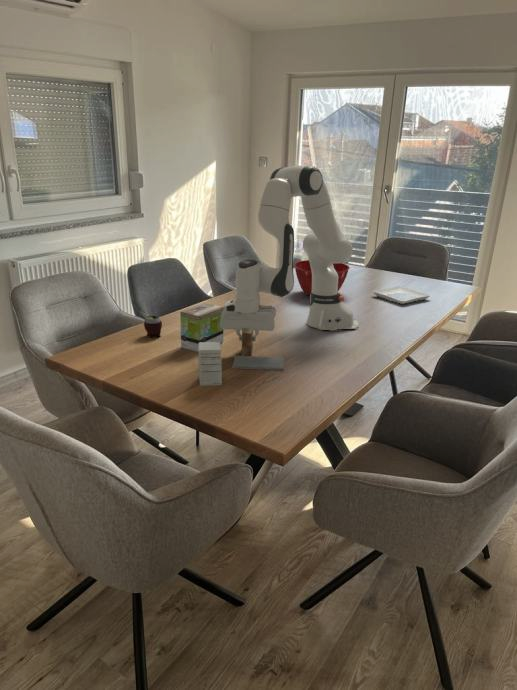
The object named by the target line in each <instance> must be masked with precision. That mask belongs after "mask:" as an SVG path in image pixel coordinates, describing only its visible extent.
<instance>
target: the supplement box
mask: <svg viewBox="0 0 517 690" xmlns="http://www.w3.org/2000/svg"><path fill="white" fill-rule="evenodd" d="M221 343H222V342H221ZM221 343H220V342H199V347H198V352H197V353H198V371H199V372H198V373H199V375H198V376H199V386H201V387H202V386H203V387H204V386H205V387H207V386H222V385H223V382H222V381H223V380H222V379H223V376H222V374H223V373H222V371H223V370H222V369H223V368H222V366H223V365H222V364H223V363H222V345H221Z"/></svg>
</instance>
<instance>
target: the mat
mask: <svg viewBox="0 0 517 690" xmlns="http://www.w3.org/2000/svg"><path fill="white" fill-rule="evenodd" d="M233 359H234V360H233V362H232V365H231V366H232V367H231V368H232V369H238V370H239V369H240V370H241V369H243V370H262V371H263V370H264V371H265V370H266V371H267V370H268V371H284V368H285V356H284V357H283V356H257V355H255V356H254V355H251V356H242V355H234V358H233Z"/></svg>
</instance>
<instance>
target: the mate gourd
mask: <svg viewBox="0 0 517 690" xmlns="http://www.w3.org/2000/svg"><path fill="white" fill-rule="evenodd" d="M165 301H166V298H165V299H163V300H162V301H161V302H160V303H159V305H158V309H157V313H156V315H149V316H146V317H145V319H144V323H143V326H144V330H145V331H146V333H147V334H146V336H147V335H149V336H148V339H149V338H151V339H152V337H153V338H162V335H161V334H162V333H161V332H162V327H163V323H162V319H161V318H160V316H158V315H159V312H160V308H161V307H162V304H163V303H164V302H165ZM154 336H155V337H154Z"/></svg>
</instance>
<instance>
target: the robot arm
mask: <svg viewBox="0 0 517 690" xmlns="http://www.w3.org/2000/svg"><path fill="white" fill-rule="evenodd" d="M293 197H294V198H295V197H300V198H301V204H302V208H303V209H302V210H303V213H304V216H305V219H306V223H307V226H308V228H309V229H310V231H312V232H310V233H308V234H306V235H305V237H304V239H303V241H302V249H303V250H304V252H305V254H306V255H307V258H308V259H307V260H309V262H310V266H311V271H312V291H311V293H310V296H309V304H310V306H309V310H308V311H309V312H308V316H307V319H306V322H305V324H306V325H308V326H309V327H311V328H314V329H318V330H320V331H322V330H330V331H338V330H337V329H355V330H357V329H358V328H359V322H358V320H356V319H355V318H354V313H353V310H352V309H351V308H350V307H349V306H348V305H346V304H345V303H344V302H343V301H344V296H343V295H342V294H341V292H339V291H338V274H337V272H336V270H335V269H334V266H333V263H343V264H346V263H347V262H349V261H350V260H351V258H352V255H353V252H354V251H353V245H352V243H351V241H349V239H347V237H346V236H345V235H344V233H343V231H342V230H341V228H340V226H339V225H338V222H337V219H336V218H335V215H334V210H333V207H332V206H333V205H332V203H331V196H330V194H329V191H328V188H327V186H326V183H325V180H324V179H323V174H322V171H320V169H318V167H316V166H313V165H293V166H288V167H287V166H285V167H282V166H281V167H279V168H276V169H274V170H273V172H272V173H271V174H270V177H269V180H268V181H267V183H266V184H265V186H264V190H263V193H262V196H261V199H260V203H259V208H258V215H257V219H258V220H257V221H258V223H259V225H260V227H261V229H263V230H264V232H266V233H267V234H269V235H271V236H272V237H274V238H275V239H276V240H277V242H278V244H279V255H278V256H279V257H278V258H279V260H278V267H271V266H266V265H262V264H259V262H258V260H256V259H244V260H241V261H239V262H238V264H237V266H236V270H235V288H236V289H235V290H236V293H235V298H234V299H231V300H227V301H225V302H224V304H223V306H222V307H223V309H224V310H223V312H222V315H221V320H220V327H221V328H222V329H224V330H231V331H233V330H235V334H236V335H237V337H238V341H240V342H242V333H241V332H240V331H242V328H245V329H252V330H253V331H254V334H253V335H252V341H253V342H257V336H258V335H259V334H260V331H267V332H269V331H270V332H271V331H274V329H275V328H276V327H275V326H276V324H275V322H276V321H275V318H276V316H277V310H276V308H275V307H274V306H273V305H263V304H262V305H261V304H260V301H261V296H260V293H263V294H264V293H265V294H270V295H273V296H275V297H279V298H284V297H285V296H287V295H289V294H290V293H291V292H292V291H293V289H294V285H295V277H294V275H295V274H294V256H295V255H294V253H295V251H294V250H295V248H294V247H295V231H294V227H293V226H292V225H291V224H290V219H289V217H290V216H289V215H290V209H291V203H292V198H293ZM337 291H338V292H337ZM357 327H358V328H357ZM356 328H357V329H356Z"/></svg>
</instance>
